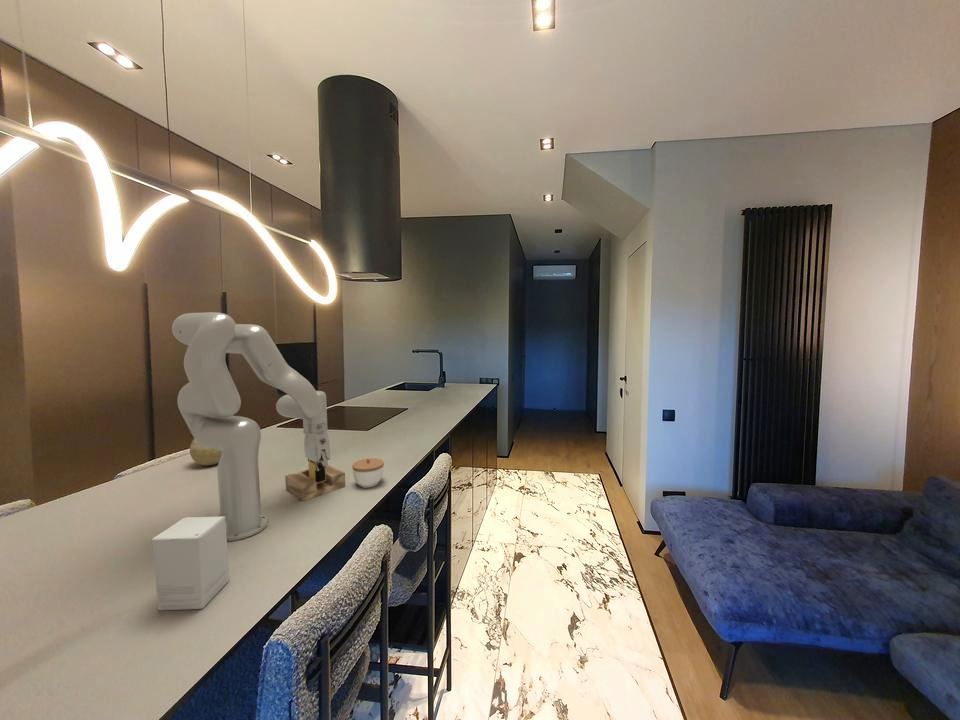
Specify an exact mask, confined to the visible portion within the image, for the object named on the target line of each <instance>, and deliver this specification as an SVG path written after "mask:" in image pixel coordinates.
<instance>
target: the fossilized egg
mask: <svg viewBox="0 0 960 720" xmlns="http://www.w3.org/2000/svg"><path fill="white" fill-rule="evenodd" d="M189 454H190V457H191V459H192V460H193V462H195V463H196V464H198V465H201V466H206V467H207V466H209V467H210V466H214V465H217V464H219V461H220V458H221V455H222V451H220V450H216V449H210V448H206V447H203V446H202V445H200V444H199V443H198V442H197V441H196V440H195V438H194V437H193V439H192V440H191V443H190V446H189Z"/></svg>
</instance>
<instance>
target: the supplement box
mask: <svg viewBox="0 0 960 720" xmlns="http://www.w3.org/2000/svg"><path fill="white" fill-rule="evenodd" d="M151 544H152V554H153V556H152V557H153V565H154V575H155V590H156V599H157V611H176V610H177V611H178V610H181V611H182V610H202V609H204V608H205V607H206V606H207V605H208V603H210V602H211V601H212V600H213V598H215V596H216V595H217V594H218V593H219V592H220V591H222V589H223V588H224V587H225V585H227V584H228V582H229V581H230V573H229V572H230V571H229V570H230V569H229V556H228V541H227V539H226V523H225V516H223V517H217V516H201V517H200V516H199V517H198V516H195V517H194V516H193V517H191V516H190V517H188V516H187V517H183V518H181V519H180V520H178V521H177V522H176V523H174V524H173V525H171V526H170V527H168V528H166V529H165V530H164V531H162V532H161V533H159V534H157V535H156V536H154V537H153V538H152V539H151Z"/></svg>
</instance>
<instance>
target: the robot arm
mask: <svg viewBox="0 0 960 720" xmlns="http://www.w3.org/2000/svg"><path fill="white" fill-rule="evenodd" d="M171 332H172V335H173V336H174V338H175V339H176V340H177V341H179V342H180V343H181V344H183V345H185V346H187V348H186V351H185V354H184V358H183V368H184V372H185V375H186V377H187V380H188V382H187V383H186V384H184V385H183V386H182V387H181V389H180V390H179V392H178V395H177V399H176V400H177V407H178V410H179V412H180V414H181V416H182V417H183V420H184V422H185V424H186V425H187V427H188V429H189V431H190V434H191V435H192V436H193V439H194V438H195V440H196V441H197V442H198V443H199V444H200V445H202V446H203V447H206V448H210V449H216V450H220V451H222V455H221V458H220V461H219V462H218V463H217V472H216V473H217V485H218V487H217V489H218V501H219V515H218V516H216V517H223V516H225V523H226V539H227V542H231V541H239V540H242V539H246V538H249V537H252V536H254V535H256V534H259V532H262V531H263V530H264V529H265V528H266V527H267V526H268V523H269V521H268V520H269V519H268V517H267V516H266V515H264V514H262V503H261V502H262V501H261V488H260V485H261V484H260V467H259V450H260V444H261V438H262V431H261V427H260V425H259V424H258V423H257V421H255V420H253V419H251V418H249V417H246V416H245V417H244V416H241V415H236V413H238V412H239V411H240V408H241V405H242V400H241V396H240V394H239V391H238V389H237V385H236V384H235V382H234V380H233V378H232V375H231V373H230V371H229V369H228V366H227V363H226V357H227V356H226V355H227V354H239V355H240V354H241V355H242V356H243V357H244V359H245V360H246V361H247V363H248V365H249V366H250V367H251V369H252V370H253V372H254V373H255V375H256V377H258V379H259V380H260V381H261V382H263V383H264V384H267V385H269V386H271V387H273V388H276V389H278V390H280V391H282V392H284V393H285V395H282V396H281V397H280V398H279V399H278V400H277V402H276V404H275V409H276V411H277V413H278V414H279V415H280V416H281V417H284V418H289V419H291V418H292V419H301V420H302V426H303V427H302V428H303V430H302V431H303V434H304V438H303V439H304V441H303V442H304V443H303V445H304V456H305V458H306V459H307V461H308V463H307V464H308V467H309V461H314V462H315V463H316V470H317V471H315V478H316V482H317V483H318V482H321V481H324V480H325V469H326V465H329V462H328V461H329V460H331V446H330V445H331V444H330V439H329V434H328V408H327V407H328V406H327V395H326V392H324V391H322V390H316V389H315V387H314V386H313V385H312V384H311V382H310V381H309V380H308V379H307V378H305V377H304V376H303V375H302V374H300V373H299V372H298V371H297V370H295V369H294V368H292V367H291V366H290V365H289V364H288V363H287V362H286V359H284V357H283V355H282V353H281V352H280V350H279V349H278V347H277V345H276V343H275V342H274V341H273V339H272V337H271V336H270V334H269V332H268V331H267V330H266V329H265V328H264V327H263V326H261V325H258V324H251V323H249V324H248V323H244V324H243V323H236V322H235V320H234V319H233V318H232V317H231V316H230V315H228V314H226V313H224V312H223V313H222V312H218V311H217V312H216V311H215V312H214V311H211V312H210V311H209V312H208V311H207V312H206V311H205V312H187V313H183V314H181V315H178V316H177V317H176V318H175V319H174V321H173V322H172V325H171ZM320 459H321V461H319V460H320ZM319 463H322V464H320V465H319Z"/></svg>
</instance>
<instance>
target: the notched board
mask: <svg viewBox="0 0 960 720" xmlns="http://www.w3.org/2000/svg"><path fill="white" fill-rule="evenodd" d="M284 479H285V491H286V492H289V494H291V495H292V496H294V497H295V498H297V499H298V500H300V501H301V502H305V501H307V500H310V499H312V498H317V497H318V496H321V495H324V494H327V493H330V492H333V491H337V490H339V489H340V490H341V489H342V488H345V487H346V472H344V471H342V470H341V469H339V468H336V467H334V466H333V465H331V464H328V465H326V481H323V482H320V483H317V484H316V481H315V480H313V479H311V478H309V468H308V469H305V470H301V471H298V472H294V473H291V474H290V473H289V474H287V475H284Z"/></svg>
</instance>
